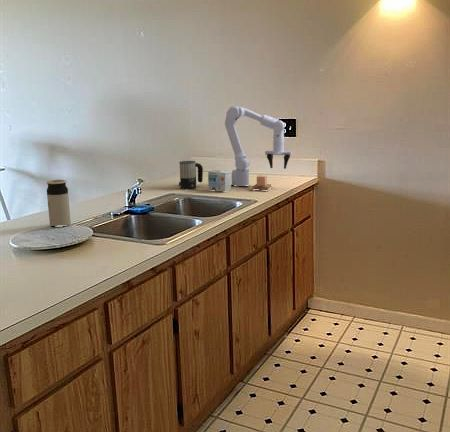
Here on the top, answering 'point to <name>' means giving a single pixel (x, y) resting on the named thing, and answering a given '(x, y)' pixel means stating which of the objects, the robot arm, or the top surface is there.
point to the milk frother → (189, 174)
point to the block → (261, 180)
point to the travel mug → (58, 203)
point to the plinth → (262, 187)
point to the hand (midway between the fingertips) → (278, 168)
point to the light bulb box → (219, 180)
